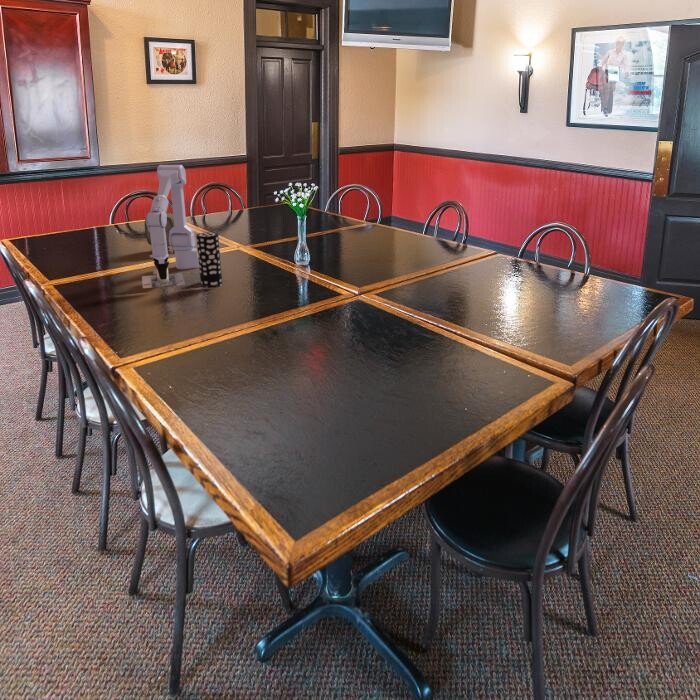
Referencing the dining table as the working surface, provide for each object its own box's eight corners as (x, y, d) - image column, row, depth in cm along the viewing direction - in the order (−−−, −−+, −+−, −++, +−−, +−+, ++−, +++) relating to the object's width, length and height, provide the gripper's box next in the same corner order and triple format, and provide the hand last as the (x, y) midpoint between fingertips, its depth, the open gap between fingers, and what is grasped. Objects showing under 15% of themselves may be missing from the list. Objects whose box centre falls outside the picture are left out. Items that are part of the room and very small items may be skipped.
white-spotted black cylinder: (226, 282, 262) (222, 233, 255) (215, 288, 255) (211, 237, 247) (207, 281, 265) (203, 231, 257) (196, 286, 257) (191, 236, 250)
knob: (170, 279, 261) (169, 266, 259) (167, 282, 257) (165, 269, 255) (156, 279, 261) (154, 266, 259) (152, 282, 257) (150, 269, 255)
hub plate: (182, 275, 273) (181, 269, 272) (185, 286, 257) (185, 280, 257) (142, 278, 269) (141, 272, 268) (143, 290, 253) (142, 284, 252)
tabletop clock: (147, 253, 310) (141, 199, 300) (156, 249, 318) (149, 196, 309) (176, 254, 307) (170, 200, 298) (184, 250, 316) (179, 197, 306)
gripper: (147, 240, 259) (151, 273, 264) (148, 248, 246) (153, 283, 251) (166, 238, 261) (169, 272, 266) (168, 246, 248) (172, 281, 253)
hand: (163, 277), depth 259 cm, fingers closed on knob, 4 cm apart
